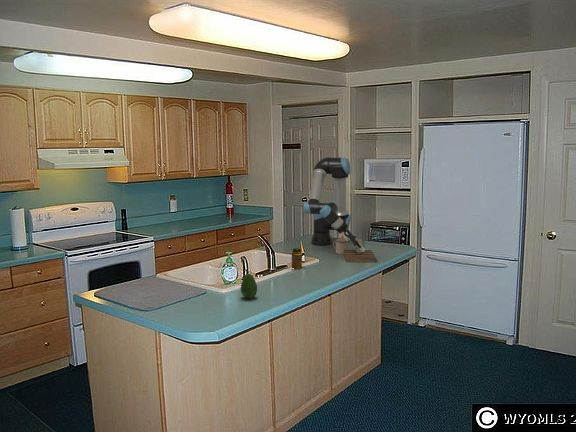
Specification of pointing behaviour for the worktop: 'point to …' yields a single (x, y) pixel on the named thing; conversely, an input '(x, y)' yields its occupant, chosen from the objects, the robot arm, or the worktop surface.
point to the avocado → (248, 286)
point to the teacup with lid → (341, 245)
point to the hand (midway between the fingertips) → (362, 248)
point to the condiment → (297, 259)
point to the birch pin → (357, 247)
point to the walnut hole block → (359, 256)
